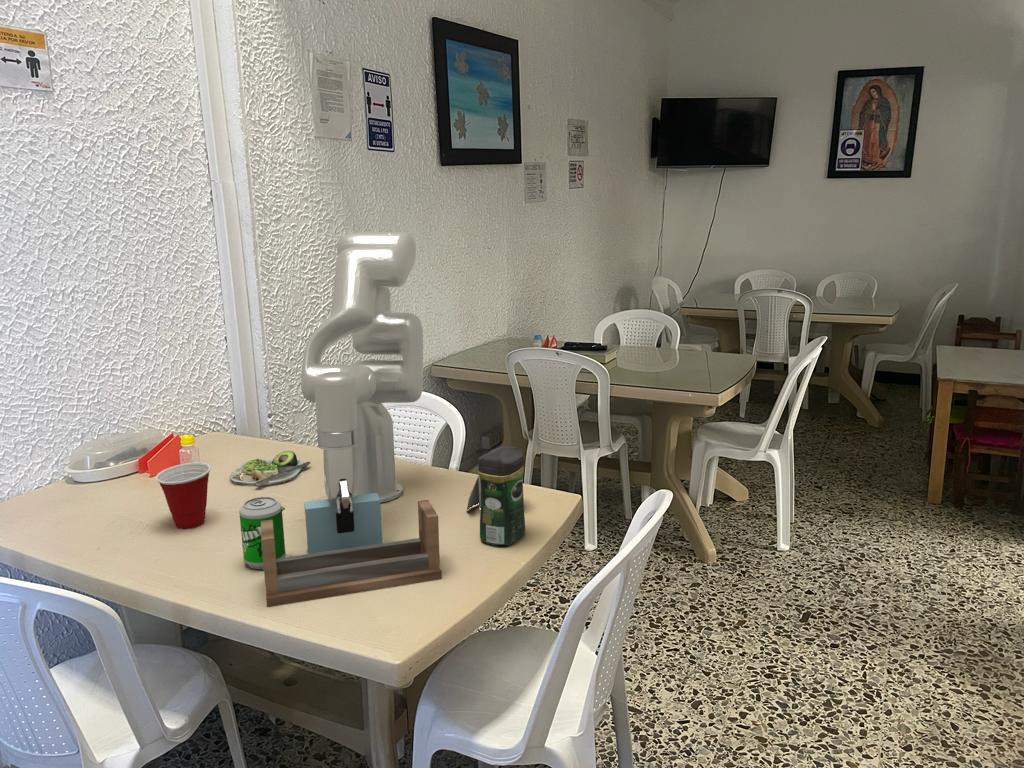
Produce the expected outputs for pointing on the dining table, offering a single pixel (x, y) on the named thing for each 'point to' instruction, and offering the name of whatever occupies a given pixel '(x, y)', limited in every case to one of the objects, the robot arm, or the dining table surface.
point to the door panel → (325, 528)
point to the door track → (352, 565)
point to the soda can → (251, 529)
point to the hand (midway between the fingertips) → (342, 522)
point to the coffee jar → (501, 495)
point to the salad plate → (270, 469)
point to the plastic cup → (186, 492)
